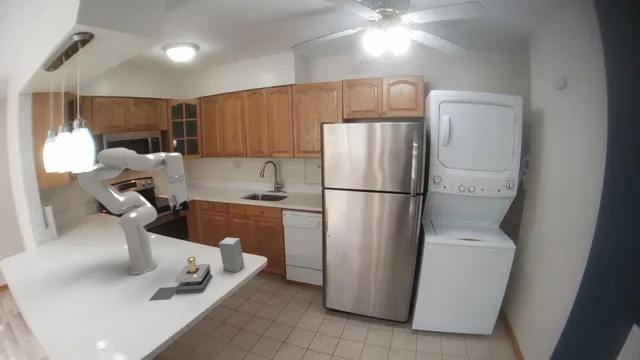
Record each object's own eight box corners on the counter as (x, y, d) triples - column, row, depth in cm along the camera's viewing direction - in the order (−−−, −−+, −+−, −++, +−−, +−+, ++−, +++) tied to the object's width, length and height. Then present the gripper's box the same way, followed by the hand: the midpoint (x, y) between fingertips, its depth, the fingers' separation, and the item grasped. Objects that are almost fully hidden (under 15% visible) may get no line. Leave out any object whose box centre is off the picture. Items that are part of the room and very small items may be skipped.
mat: (148, 301, 113) (148, 300, 113) (159, 288, 122) (159, 287, 122) (170, 300, 113) (170, 299, 113) (180, 287, 122) (180, 286, 122)
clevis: (175, 294, 117) (173, 279, 115) (187, 279, 129) (185, 264, 127) (203, 292, 117) (201, 277, 116) (212, 277, 129) (211, 263, 127)
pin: (189, 285, 121) (185, 260, 119) (192, 280, 124) (188, 256, 122) (197, 284, 121) (193, 260, 119) (199, 280, 124) (196, 256, 122)
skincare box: (244, 266, 138) (241, 237, 135) (236, 273, 132) (232, 243, 128) (230, 264, 141) (227, 236, 138) (221, 271, 134) (218, 241, 131)
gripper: (176, 176, 135) (181, 208, 138) (158, 183, 118) (164, 220, 121) (192, 175, 135) (196, 207, 139) (175, 182, 118) (181, 219, 122)
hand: (181, 213), depth 130 cm, fingers open, 9 cm apart
